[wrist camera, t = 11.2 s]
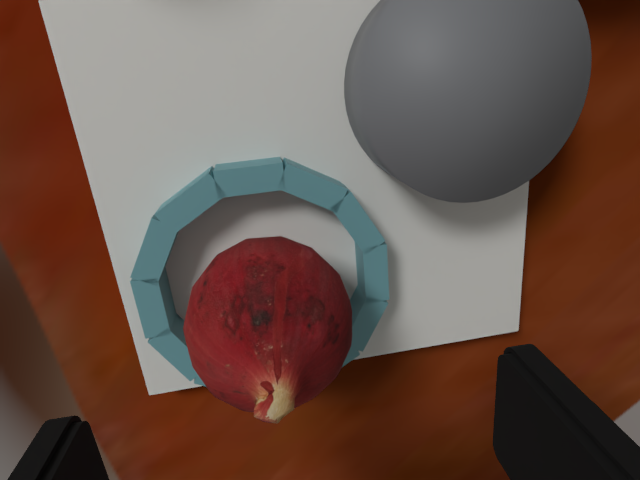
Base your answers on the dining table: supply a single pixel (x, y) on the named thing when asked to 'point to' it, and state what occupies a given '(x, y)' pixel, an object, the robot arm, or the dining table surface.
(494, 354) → the dining table surface
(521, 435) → the robot arm
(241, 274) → the pomegranate
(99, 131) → the carrier plate
